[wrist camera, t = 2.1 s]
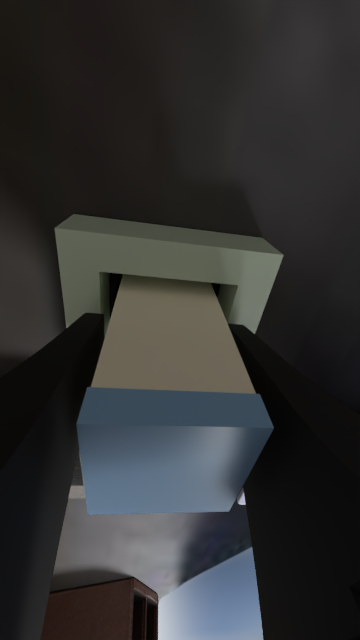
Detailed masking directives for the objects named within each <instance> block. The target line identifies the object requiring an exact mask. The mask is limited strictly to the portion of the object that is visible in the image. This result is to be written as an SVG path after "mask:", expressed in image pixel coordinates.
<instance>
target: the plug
mask: <svg viewBox="0 0 360 640" xmlns="http://www.w3.org/2000/svg"><path fill="white" fill-rule="evenodd" d="M76 425H77V433H78V441H79V449H80V457H81V465H82V473H83V481H84V489H85V497H86V505H87V513H88V515H106V514H145V513H185V512H225V511H229V510H230V508H231V507H232V505H233V503H234V501H235V499H236V497H237V495H238V494H239V492H240V490H241V488H242V486H243V484H244V483H245V481H246V479H247V477H248V475H249V473H250V471H251V470H252V468H253V466H254V464H255V462H256V460H257V459H258V457H259V455H260V453H261V451H262V449H263V447H264V446H265V444H266V442H267V440H268V438H269V436H270V435H271V433H272V431H273V429H274V427H273V424H272V422H271V420H270V417H269V415H268V412H267V410H266V408H265V405H264V403H263V401H262V398H261V396H260V394H256V392H255V390H254V388H253V385H252V383H251V380H250V378H249V375H248V373H247V370H246V368H245V365H244V363H243V361H242V358H241V356H240V353H239V351H238V348H237V346H236V343H235V341H234V338H233V336H232V334H231V331H230V329H229V326H228V324H227V321H226V319H225V316H224V314H223V311H222V309H221V307H220V304H219V302H218V299H217V297H216V294H215V292H214V289H213V287H212V284H211V283H210V282H200V281H189V280H179V279H169V278H159V277H149V276H139V275H129V274H123V276H122V279H121V283H120V286H119V290H118V293H117V297H116V300H115V304H114V307H113V311H112V314H111V318H110V321H109V325H108V328H107V332H106V335H105V339H104V342H103V346H102V349H101V353H100V356H99V360H98V363H97V367H96V370H95V374H94V377H93V381H92V384H91V387H87V390H86V393H85V397H84V400H83V403H82V407H81V410H80V413H79V417H78V420H77V423H76Z"/></svg>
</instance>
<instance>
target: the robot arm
mask: <svg viewBox="0 0 360 640" xmlns="http://www.w3.org/2000/svg"><path fill="white" fill-rule="evenodd" d="M227 324H228V323H227ZM228 326H229V329H230V331H231V334H232V336H233V338H234V341H235V343H236V346H237V348H238V351H239V353H240V356H241V358H242V361H243V363H244V365H245V368H246V370H247V373H248V375H249V378H250V380H251V383H252V385H253V388H254V390H255V392H256V394H260V396H261V398H262V401H263V403H264V405H265V408H266V410H267V412H268V415H269V417H270V420H271V422H272V424H273V427H274V429H273V431H272V433H271V435H270V436H269V438H268V440H267V442H266V444H265V446H264V447H263V449H262V451H261V453H260V455H259V457H258V459H257V460H256V462H255V464H254V466H253V468H252V470H251V471H250V473H249V475H248V477H247V479H246V481H245V483H244V484H243V488H242V490H241V491H240V493H239V495H238V497H237V501H238V503H239V504H241V505H246V509H247V515H248V521H249V527H250V534H251V541H252V548H253V555H254V562H255V569H256V577H257V586H258V593H259V602H260V611H261V619H262V629H263V638H264V640H360V414H358V413H357V412H355V411H353V410H352V409H350V408H349V407H347V406H346V405H344V404H343V403H341V402H340V401H338V400H337V399H335V398H334V397H332V396H331V395H329V394H328V393H326V392H325V391H324V390H322V389H321V388H319V387H318V386H317V385H315V384H314V383H313V382H311V381H310V380H309V379H307V378H306V377H305V376H304V375H302V374H301V373H300V372H298V371H297V370H296V369H295V368H293V367H292V366H291V365H290V364H288V363H287V362H286V361H285V360H284V359H283V358H281V357H280V356H279V355H278V354H277V353H275V352H274V351H273V350H272V349H271V348H270V347H269V346H267V345H266V344H265V343H264V342H263V341H262V340H261V339H260V338H258V337H257V336H256V335H255V334H254V333H253V332H251V331H250V330H249V329H248V328H247V327H245V326H244V325H240V324H228ZM104 339H105V334H104V314H98V313H84V314H83V315H82V316H81V317H79V318H78V319H77V320H76V321H75V322H73V323H72V324H71V325H70V326H69V327H68V328H66V329H65V330H64V331H63V332H62V333H61V334H59V335H58V336H57V337H56V338H54V339H53V340H52V341H51V342H49V343H48V344H47V345H46V346H44V347H43V348H42V349H41V350H39V351H38V352H37V353H35V354H34V355H32V356H31V357H30V358H28V359H27V360H26V361H24V362H23V363H21V364H20V365H19V366H17V367H16V368H14V369H13V370H11V371H10V372H8V373H7V374H5V375H3V376H2V377H0V640H40V639H41V634H42V628H43V623H44V618H45V612H46V607H47V602H48V596H49V591H50V585H51V580H52V575H53V570H54V565H55V560H56V555H57V550H58V545H59V540H60V535H61V530H62V526H63V521H64V516H65V511H66V507H67V502H68V497H69V493H70V488H71V484H72V479H73V475H74V470H75V466H76V461H77V458H78V454H79V450H80V449H79V441H78V433H77V425H76V423H77V420H78V417H79V413H80V410H81V407H82V403H83V400H84V397H85V393H86V390H87V387H91V384H92V381H93V377H94V374H95V370H96V367H97V363H98V360H99V356H100V353H101V349H102V346H103V342H104Z"/></svg>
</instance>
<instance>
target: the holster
mask: <svg viewBox="0 0 360 640" xmlns="http://www.w3.org/2000/svg"><path fill="white" fill-rule="evenodd" d="M55 236H56V244H57V252H58V261H59V269H60V278H61V286H62V294H63V303H64V311H65V320H66V328H68V327H69V326H70V325H71V324H72V323H73V322H75V321H76V320H77V319H78V318H79V317H81V316H82V315H83V314H84V313H98V314H104V334H105V335H106V332H107V328H108V325H109V321H110V284H109V273H119V274H129V275H139V276H149V277H159V278H169V279H179V280H189V281H200V282H210V283H220V284H221V285H220V289H219V293H218V297H217V299H218V302H219V304H220V307H221V309H222V311H223V314H224V316H225V319H226V321H227V323H228V324H240V325H244V326H245V327H247V328H248V329H249V330H250V331H251V332H253V333H254V334H255V333H256V330H257V327H258V325H259V322H260V319H261V316H262V313H263V311H264V308H265V305H266V302H267V300H268V297H269V294H270V291H271V289H272V286H273V283H274V280H275V278H276V275H277V272H278V269H279V267H280V264H281V261H282V258H283V256H284V255H283V254H282V253H281V252H279V251H278V250H277V249H276V248H274V247H273V246H272V245H271V244H270V243H268V242H267V241H266V240H265V239H263V238H260V237H252V236H244V235H236V234H228V233H220V232H212V231H204V230H197V229H189V228H181V227H173V226H165V225H157V224H149V223H141V222H133V221H125V220H117V219H110V218H102V217H94V216H86V215H78V214H73V215H72V216H70V217H69V218H68V219H66V220H65V221H63V222H62V223H61V224H59V225H58V226H57V227H55Z"/></svg>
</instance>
